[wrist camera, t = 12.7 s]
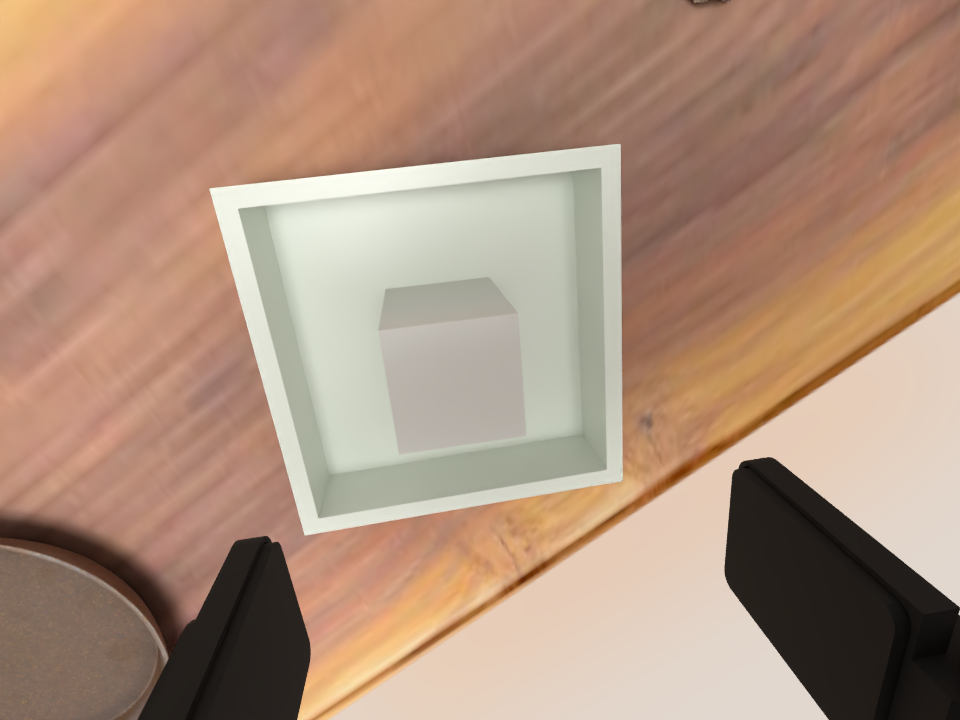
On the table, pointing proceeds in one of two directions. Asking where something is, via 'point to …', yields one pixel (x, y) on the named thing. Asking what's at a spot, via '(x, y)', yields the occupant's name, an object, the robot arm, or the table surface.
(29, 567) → the plant saucer
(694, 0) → the mineral rock
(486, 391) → the stone block
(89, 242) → the table surface
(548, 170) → the sage bin
